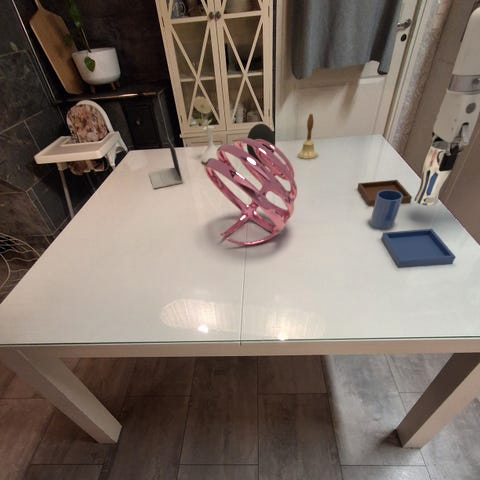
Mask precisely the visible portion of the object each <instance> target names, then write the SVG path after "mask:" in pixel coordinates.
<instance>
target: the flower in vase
mask: <svg viewBox="0 0 480 480" xmlns="http://www.w3.org/2000/svg"><path fill="white" fill-rule="evenodd" d="M192 103H193V107H194V108H195V110H197V112H199V113H201V118H199V117H198V118H197V119H196V121H195V123H198V124H201V125H203V124H204V125H205V126H204V127H202V129H203V131H204V132H205V134H206V138H207V144H208V146H207V148H206V149H205V151H204V152H203V153H202V154H201V156H200V160H201V162H202V163H204V164H206V162H207V161H208V160H209V159H210V158H214V159H217V160H218V158H217V150H218V147H216V146H215V143H214V138H213V137H214V129H215V125H208V124H210V123H212V121H213V118H211V119H209V120H208V121H207V123H206V122H205V120H204V118H203V114H204V115H205V114H206V115H207V114H210V112H211V113H212V104H211V103H210V100H208V99H207V98H205V97H204V96H200V95H198V96H195V98H194V99H193V102H192Z"/></svg>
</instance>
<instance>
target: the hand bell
mask: <svg viewBox="0 0 480 480" xmlns="http://www.w3.org/2000/svg"><path fill="white" fill-rule="evenodd" d="M314 123H315V122H314V114H313V113H310V114H309V115H308V118H307V122H306V128H307V136H306V140H305V141H304V142H303V144H302V149H301V150H300V152H299V153H298V155H297V156H298V158H300V159H304V160H311V159H314V158H316V157H317V156H318V154H317V152H316V150H315V144H314V141H313V140H312V131H313V128H314Z"/></svg>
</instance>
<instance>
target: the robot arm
mask: <svg viewBox="0 0 480 480" xmlns="http://www.w3.org/2000/svg"><path fill="white" fill-rule="evenodd" d="M448 81H449V82H448V85H447V88H446V91H445V92H446V93H445V95H444V98H443V100H442V101H441V105H440V107H439V110H438V113H437V116H436V119H435V121H434V122H433V124H432V133H431V136H432V138H431V140H430V146H429V149H430V147H431V144H432V143H434V142H437V141H446V142H448V144H447V153H446V154H445V155H444V157H443V159H442V162H441V165H440V168H439V171H440V172H441V171H450V170H451V171H452V170H453V169H454V166H455V164H456V161H457V158H458V156H459V155H461V152H462V151H463V150H464V149H465V148H466V147H467V146H468V145H469V144H470V139H471V136H472V135H473V132H474V130H475V127H476V124H477V121H478V118H479V115H480V6H479V7H477V8H476V9H475V10H473V12H472V13H471V15H470V17H469V19H468V22H467V24H466V29H465V31H464V35H463V38H462V41H461V44H460V47H459V50H458V53H457V56H456V59H455V62H454V66H453V69H452V72H451V75H450V78H449V80H448ZM455 139H456V140H455ZM452 144H457V145H456V146H455V147H454V148H452ZM429 149H428V151H427V153H428V152H429ZM451 171H450V172H451Z"/></svg>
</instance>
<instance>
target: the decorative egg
mask: <svg viewBox="0 0 480 480" xmlns="http://www.w3.org/2000/svg"><path fill="white" fill-rule="evenodd" d="M246 138H250V139H253V140H255V139H262V140H265V141H268V142H269V143H271V144H273V145H274V146H275V147H276V137H275V134H274V132H273V130H272V129H271V128H270V127H269V126H268V125H267V124H265V123H257V124H255V125H253V126H252V127H251V128H250V130H249V132H248V134H247V136H246ZM262 145H263V146H265V147H266V148H267V149H269V150H270V151H271V152H272V153H273V154H274V155H275V151H274V150H272V149H271V148H270V147H268V146H266V145H264V144H262ZM246 149H247V153H249V154H250V155H251V156H253V157H254V158H255V159H257V160H258V161H259V162H260V163H261V164H263V163H262V161H261V160H260V159H259V158H258V156H257V155H256V153H255V151H254V149H253V147H252V146H250V145H248V144H246Z"/></svg>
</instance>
